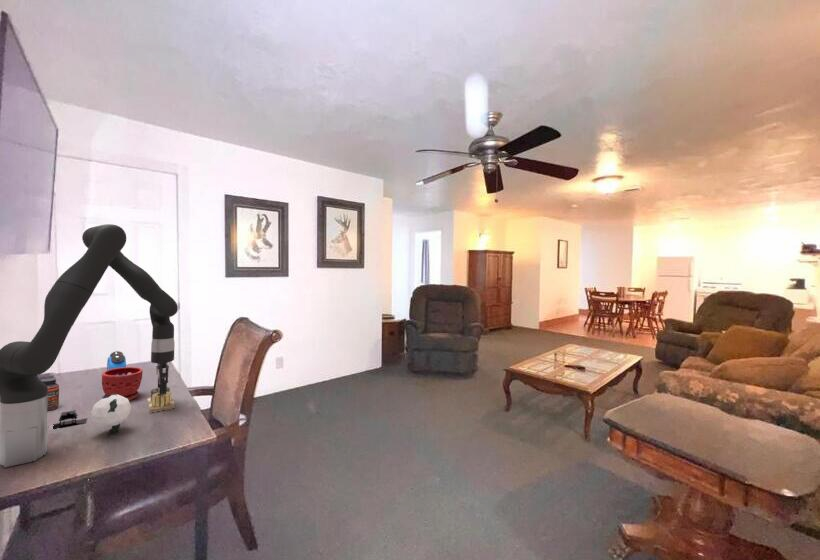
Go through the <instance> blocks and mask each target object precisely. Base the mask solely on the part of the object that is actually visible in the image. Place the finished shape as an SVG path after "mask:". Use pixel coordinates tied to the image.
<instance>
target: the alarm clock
mask: <svg viewBox="0 0 820 560" xmlns="http://www.w3.org/2000/svg"><path fill="white" fill-rule="evenodd" d="M106 362H107V363H106V371H107V370H110V369H114V368H122V367H127V360H126V356H125V355H124V353H123V352H122V351H120V350H115V351H113V352H111V353H110V354H109V357H107V361H106ZM116 375H119V374H116ZM122 375H125V373H123V374H122Z"/></svg>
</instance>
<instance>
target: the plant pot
mask: <svg viewBox="0 0 820 560" xmlns="http://www.w3.org/2000/svg"><path fill="white" fill-rule="evenodd" d="M123 373H125V375H122V374H123ZM116 374H119V375H116ZM142 379H143V369H142V368H140V367H134V366H126V367H122V368H114V369H110V370H107V369H106V370H105V371H103V372H102V373H101V388H102V391H103V393H104V395H103V396H102V397H104V396H107V394H109V395H112V394H115V393H117V394H118V395H120V396H123V397H125V398H127V399H128V400H129V401H132V400H133V399H135V398H137V397H138V396H139V393H140V392H139V391H138V390H139V389H140V386H141V383H142Z"/></svg>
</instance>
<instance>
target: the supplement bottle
mask: <svg viewBox="0 0 820 560" xmlns="http://www.w3.org/2000/svg"><path fill="white" fill-rule="evenodd" d="M40 380H41V381H42V382H43V383H45V384H46V385H47V387H48V403H47V412H48V411H53V410H56V409H58V408H59V402H60V385H59V384H58V382H57V379H56V378H54V377H51V378H50V377H48V378H44V379H40Z"/></svg>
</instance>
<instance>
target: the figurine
mask: <svg viewBox="0 0 820 560" xmlns="http://www.w3.org/2000/svg"><path fill="white" fill-rule="evenodd" d="M103 396H104V395H103ZM103 396H102V398H101V399H99V400H98V401H97V402H95V403H94V405H93V408H91V409H92V410H91V412H90V416H91V419H92V422H93V424H95V425H98V426H100V427H102V428H109V427H111V428H110V429H108V431H109V432H108V433H107V437H109V436H112V435H116V433H117V434H119V430H118V429H120V426H121V423H122V422H124V421H125V420H126V419H127V418H129V414H130V412H131V410H132V406H131V403H130V400H128V399H127V398H125V397H123V396H120V395H118V394H117V393H115V394H112V395H109V394H107V396H104V397H103ZM111 431H112V432H111Z"/></svg>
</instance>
